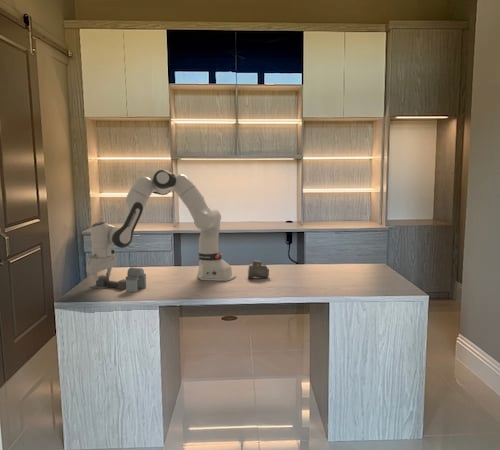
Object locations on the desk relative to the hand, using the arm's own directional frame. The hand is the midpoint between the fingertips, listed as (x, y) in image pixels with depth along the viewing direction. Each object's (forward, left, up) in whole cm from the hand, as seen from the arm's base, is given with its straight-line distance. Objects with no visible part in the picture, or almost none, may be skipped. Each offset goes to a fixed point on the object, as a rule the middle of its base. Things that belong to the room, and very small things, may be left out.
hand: (102, 278), depth 238 cm
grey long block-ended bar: (-6, 0, -4) cm, 7 cm away
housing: (-21, 0, -4) cm, 22 cm away
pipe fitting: (-73, -43, -5) cm, 85 cm away
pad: (+1, 0, -4) cm, 4 cm away
